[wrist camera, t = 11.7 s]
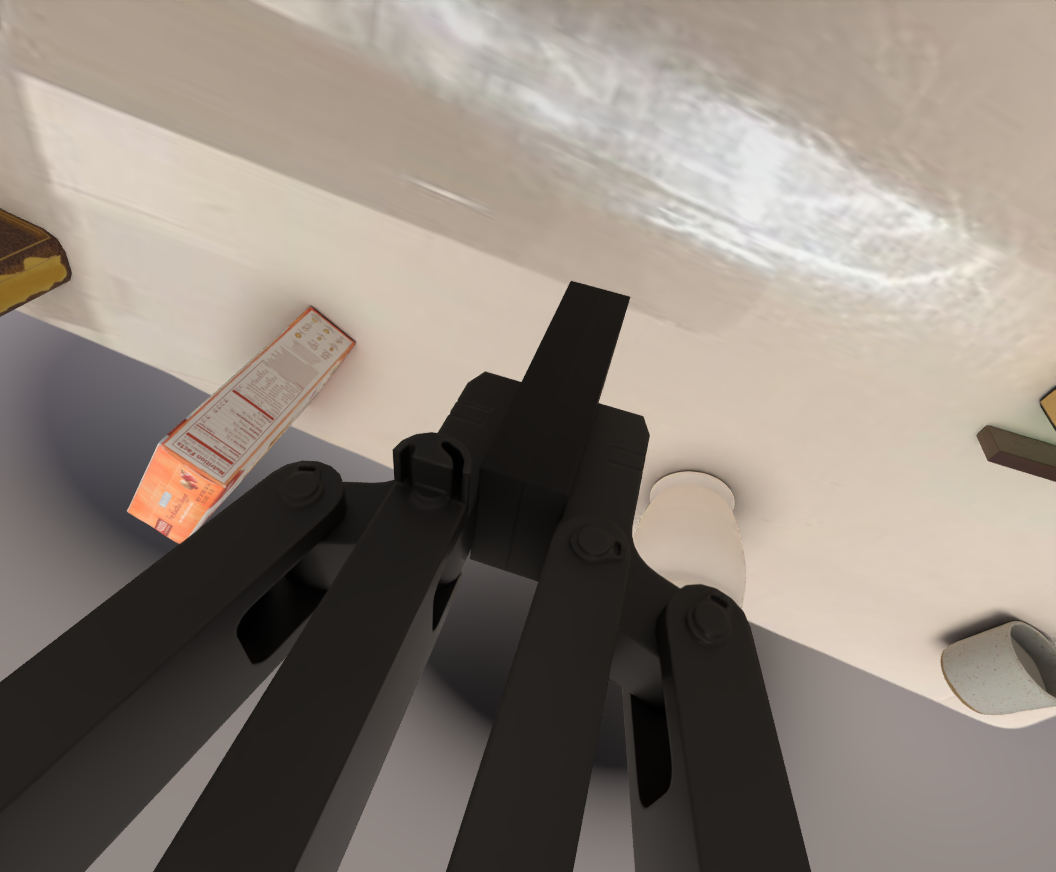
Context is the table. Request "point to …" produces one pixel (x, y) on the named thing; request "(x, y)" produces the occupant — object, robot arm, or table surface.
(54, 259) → the book
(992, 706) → the ceramic mug
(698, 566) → the jar
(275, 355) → the cracker box
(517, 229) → the table surface
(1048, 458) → the bay
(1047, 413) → the puzzle cube
